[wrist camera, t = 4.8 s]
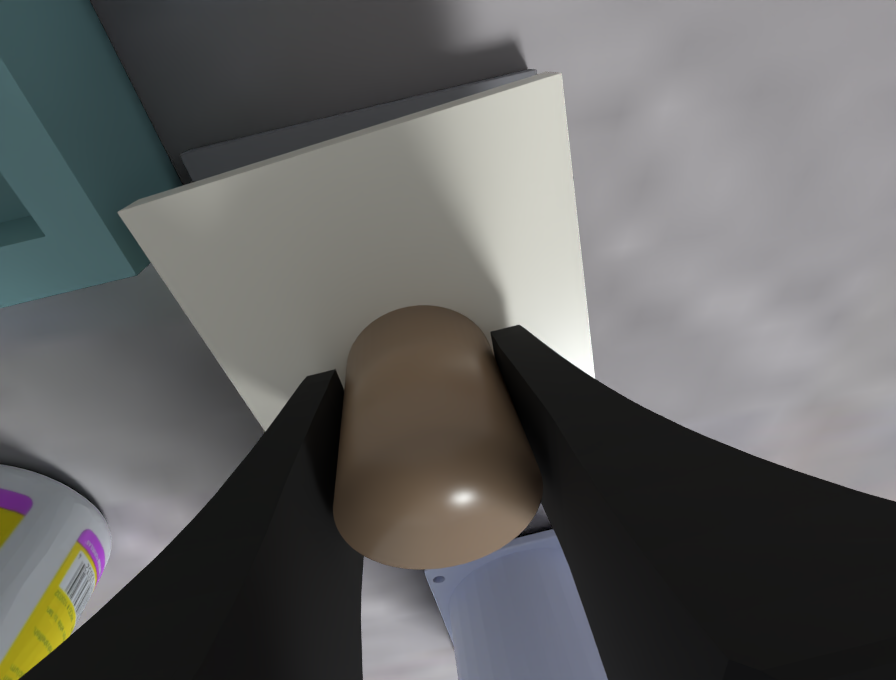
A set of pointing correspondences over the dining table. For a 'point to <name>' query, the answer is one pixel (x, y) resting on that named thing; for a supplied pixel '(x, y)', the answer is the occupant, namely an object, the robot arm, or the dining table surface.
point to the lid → (395, 304)
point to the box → (69, 153)
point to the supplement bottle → (44, 565)
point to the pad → (323, 129)
